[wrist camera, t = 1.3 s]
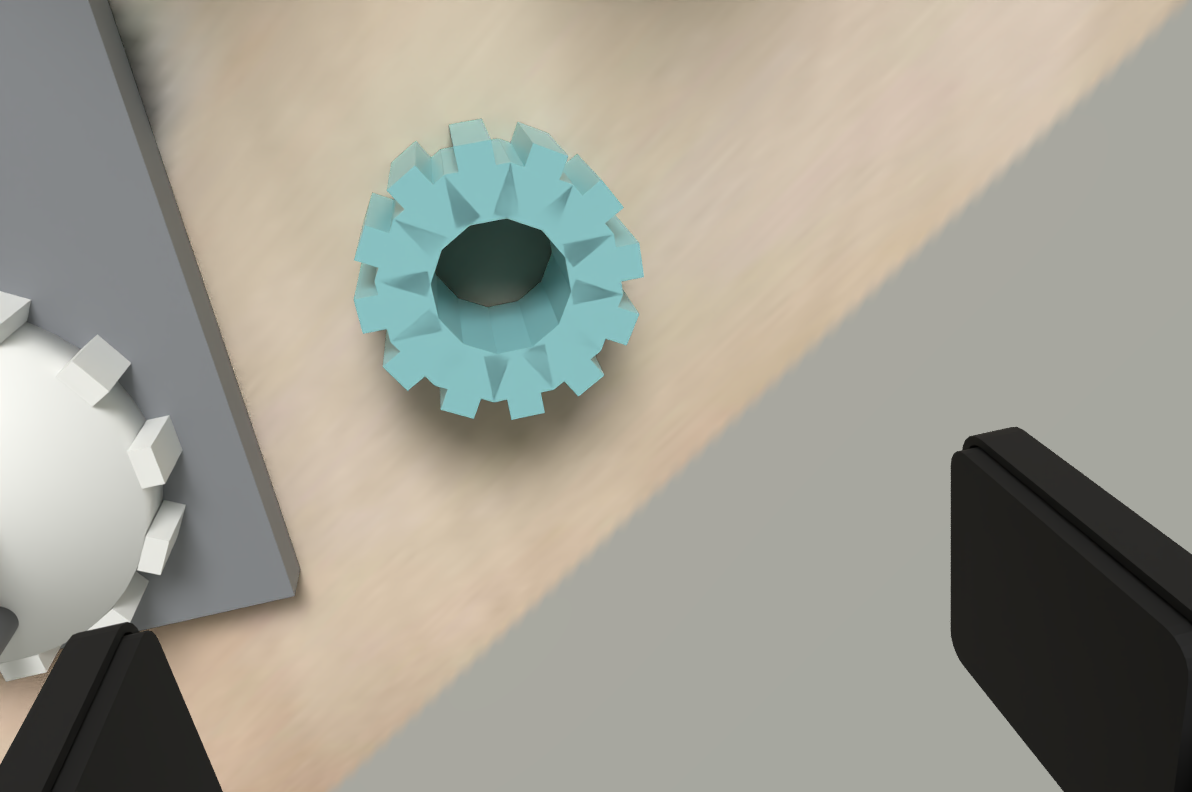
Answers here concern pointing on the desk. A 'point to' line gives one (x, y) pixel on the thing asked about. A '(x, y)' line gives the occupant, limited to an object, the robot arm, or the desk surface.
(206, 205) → the desk surface
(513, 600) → the desk surface
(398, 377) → the gear
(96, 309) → the gear board
